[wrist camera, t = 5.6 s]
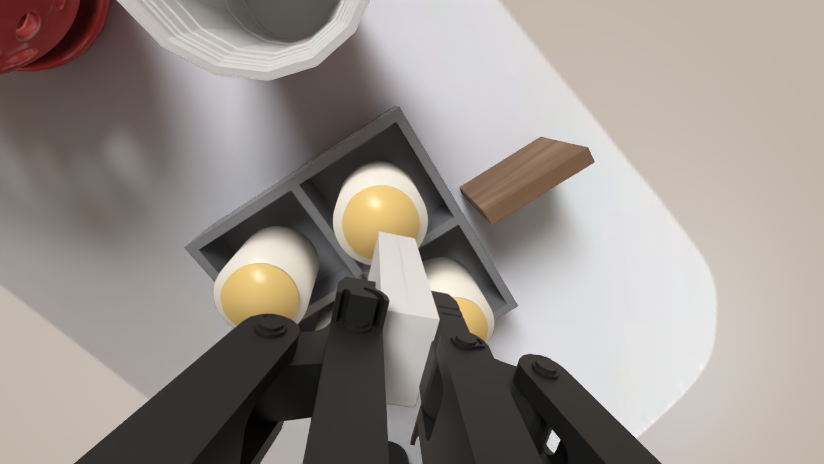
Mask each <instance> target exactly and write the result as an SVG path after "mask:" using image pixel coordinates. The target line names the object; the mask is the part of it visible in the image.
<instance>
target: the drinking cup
mask: <svg viewBox="0 0 824 464" xmlns="http://www.w3.org/2000/svg"><path fill="white" fill-rule="evenodd" d="M388 453H389V464H409V463H408V458H407V454H406V452H405V451H404V449H403V448H402V447H401V446H399V445H398V444H396V443H394V442H390V441H388Z"/></svg>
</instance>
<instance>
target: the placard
mask: <svg viewBox="0 0 824 464" xmlns="http://www.w3.org/2000/svg"><path fill="white" fill-rule="evenodd" d="M593 163H594V159H593V157H592V155H591V153H590V151H589V148H588V147H583V146H579V145H575V144H570V143H566V142H561V141H557V140H553V139H548V138H544V137H540V138H538V139H536V140H535V141H533V142H532V143H530V144H528V145H527V146H525V147H524V148H522V149H520V150H519V151H517V152H516V153H514V154H512V155H511V156H509V157H508V158H506V159H504V160H503V161H501V162H500V163H498V164H496V165H495V166H493V167H491V168H490V169H488V170H487V171H485V172H483V173H482V174H480V175H479V176H477V177H475V178H474V179H472V180H471V181H469V182H467V183H466V184H464V185H463V186H461V187H460V189H461V191H462V192H463V194H464V196H465V197H466V199H467V200H468V201H469V202H470V203H471V204H472V205H473V206H474V207H475V208H476V209H477V210H478V211H479V212H480V213H481V214H482V215H483V216H484V217H485V219H486V220H487V221H488V222H489V223H490V224H491V225H492V224H494V223H496V222H497V221H499V220H501V219H502V218H504V217H506V216H507V215H509V214H510V213H512V212H514V211H515V210H517V209H519V208H520V207H522V206H524V205H525V204H527V203H529V202H530V201H532V200H533V199H535V198H537V197H538V196H540V195H542V194H543V193H545V192H547V191H548V190H550V189H552V188H553V187H555V186H556V185H558V184H560V183H561V182H563V181H565V180H566V179H568V178H570V177H571V176H573V175H575V174H576V173H578V172H579V171H581V170H583V169H584V168H586V167H588V166H589V165H591V164H593Z"/></svg>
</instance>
